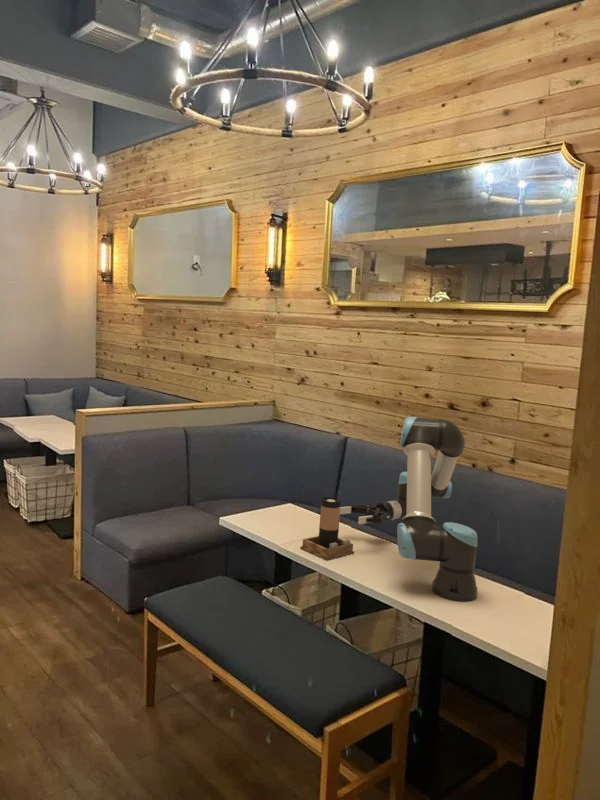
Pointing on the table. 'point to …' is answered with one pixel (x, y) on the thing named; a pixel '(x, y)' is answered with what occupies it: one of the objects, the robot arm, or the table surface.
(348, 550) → the tray
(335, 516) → the travel mug
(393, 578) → the table surface
